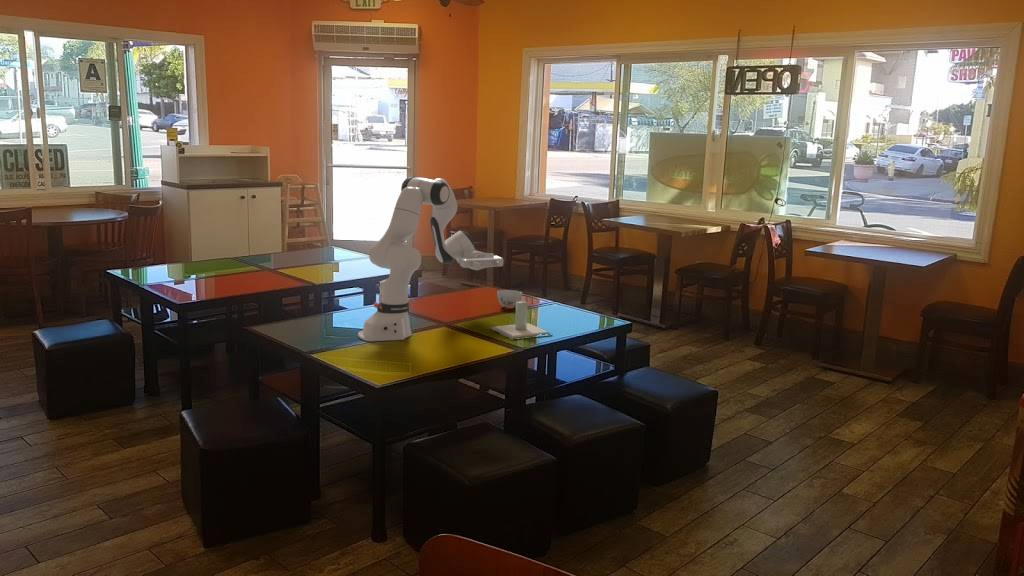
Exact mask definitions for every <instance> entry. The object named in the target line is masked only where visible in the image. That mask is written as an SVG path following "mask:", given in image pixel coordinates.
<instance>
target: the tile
mask: <svg viewBox="0 0 1024 576" xmlns="http://www.w3.org/2000/svg"><path fill="white" fill-rule="evenodd" d="M490 328H491V329H492V330H494V331H496V332H498V333H500V334H502V335H504V336H506V337H508V338H510V339H516V338H524V337H533V336H537V335H539V334H542V335H545V334H548V335H550V334H552V333H551V332H549V331H547V330H545V329H542V328H540V327H538V326H536V325H534V324H531V323H528V322H527V330H523V331H521V330H516V329H515V324H507V325H497V326H493V327H490ZM492 330H491V331H492ZM494 331H493V332H494ZM496 332H495V333H496ZM498 333H497V334H498ZM500 334H499V335H500ZM502 335H501V336H502ZM504 336H503V337H504ZM506 337H505V338H506ZM508 338H507V339H508ZM510 339H509V340H510Z"/></svg>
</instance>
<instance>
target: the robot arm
mask: <svg viewBox="0 0 1024 576" xmlns="http://www.w3.org/2000/svg"><path fill="white" fill-rule="evenodd" d="M423 205H430V206H431V208H432V214H431V218H430V220H429V223H430V230H431V234H432V239H433V244H434V254H435V258H436V259H437V260H438V261H439V262H440V263H441V264H445V265H448V264H452V262H454V261H455V260H456V263H457V264H459V266H460V267H462V268H464V269H471V270H474V271H480V270H483V269H487V268H493V267H496V268H497V267H504V258H503V257H501V256H498V255H496V254H494V253H493V252H482V251H478V250H476V243H475V241H474V239H473V237H472V236H471V234H469V233H468V232H467V231H464V230H458V231H456V233H454V234H452V235H451V236H450V237H448V238H446V239H445V236H444V231H445V228H446V227H447V226H448V224H449V223H450V221H451V220H452V219H453V218H454V217H455V216H456V213H457V212H458V201H457V198H456V197H455V193H454V191H453V189H452V188H451V186H450V184H449V182H447V180H446V179H445V178H441V177H440V178H439V177H438V178H434V179H432V178H428V177H416V176H410V177H407V178H405V179H404V181H403V182H402V184H401V191H400V194H399V195H398V198H397V200H396V203H395V207H394V210H393V213H392V216H391V219H390V223H389V225H388V228H387V229H386V230H385V233H384V234H383V236H382V237H381V238H380V239H379V240H378V241H377V242H375V243H373V244H372V245H371V247H370V249H369V253H368V257H369V258H368V259H369V261H370V263H371V264H373V265H375V266H377V267H379V268H381V269H388V270H389V276H388V278H386V279H387V280H386V279H384V280H385V281H384V282H383V284H382V302H381V303H379V302H374V303H373V307H374V308H376V312H374V313H373V314H372V315H371V316H369V317H367V319H366V320H365V321H364V324H363V328H362V330H361V331H358V333H357V337H358V338H359V339H361V340H363V341H366V342H381V341H383V342H384V341H401V340H406V338H408V337H409V338H410V337H411V336H412V335H413V333H412V330H411V326H410V320H409V319H410V318H409V315H410V302H409V286H410V280H411V277H412V276H413V274H414V272H415V271H417V270H418V269H419V268H420V266H421V263H422V255H421V254H422V253H421V252H420V251H419V249H416V248H415V247H413V246H411V245H406V244H405V243H406V241H407V240H408V239H410V238H411V237H413V236H414V235H415V234H416V232H417V229H418V224H419V222H420V217H421V215H422V208H423Z"/></svg>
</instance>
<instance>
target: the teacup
mask: <svg viewBox="0 0 1024 576" xmlns="http://www.w3.org/2000/svg"><path fill="white" fill-rule="evenodd" d="M496 292H497V293H496V294H497V295H496V296H497V300H498V302H499V304H500V305H501V307H502V308H503V307H515V308H516V302H517V301H522V300H521V299H522V297H523V292H522V291H518V290H513V289H500V290H497V291H496Z"/></svg>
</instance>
